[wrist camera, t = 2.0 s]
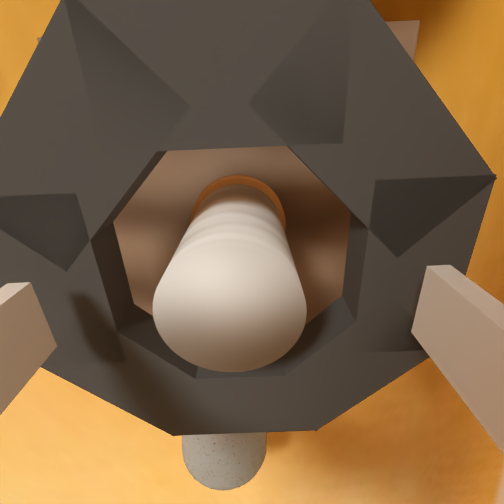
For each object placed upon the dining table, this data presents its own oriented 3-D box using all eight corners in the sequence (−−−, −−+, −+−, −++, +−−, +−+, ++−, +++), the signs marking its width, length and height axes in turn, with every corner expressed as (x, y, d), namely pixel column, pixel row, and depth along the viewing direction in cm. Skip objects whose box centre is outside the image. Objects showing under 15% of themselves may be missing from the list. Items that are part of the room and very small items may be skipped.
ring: (-66, 21, 9) (-141, -2, 8) (501, -6, 9) (563, -35, 7) (90, 405, 17) (71, 440, 15) (401, 393, 17) (419, 426, 15)
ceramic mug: (267, 348, 27) (271, 428, 20) (264, 408, 31) (267, 494, 24) (153, 346, 27) (118, 426, 20) (163, 406, 31) (136, 492, 24)
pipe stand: (59, 45, 17) (-354, -105, 5) (402, 29, 17) (747, -159, 5) (132, 320, 26) (34, 496, 14) (361, 311, 26) (458, 480, 14)
